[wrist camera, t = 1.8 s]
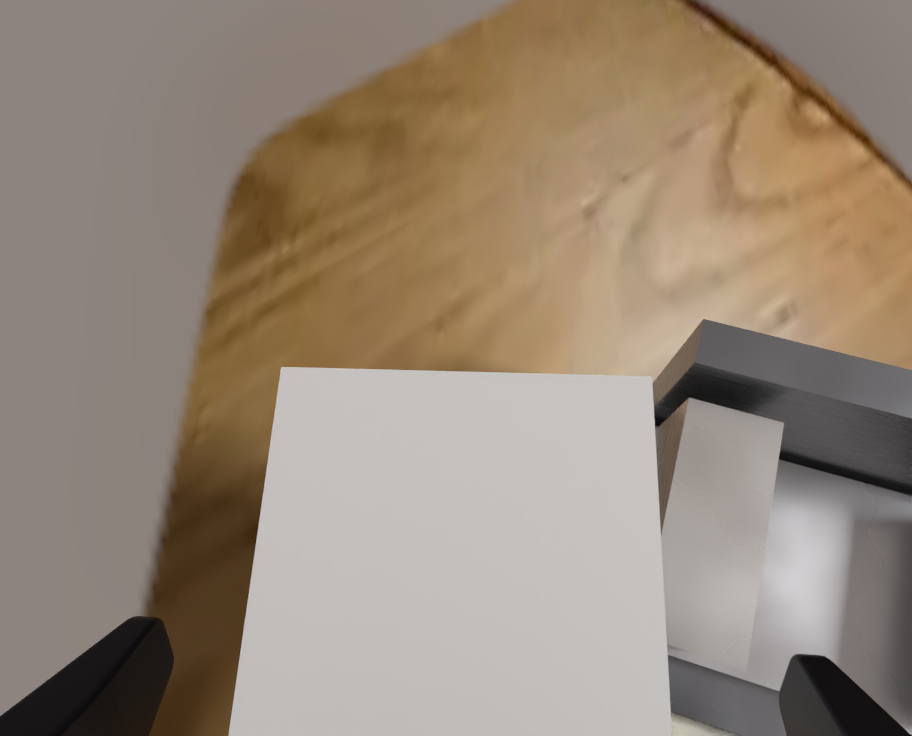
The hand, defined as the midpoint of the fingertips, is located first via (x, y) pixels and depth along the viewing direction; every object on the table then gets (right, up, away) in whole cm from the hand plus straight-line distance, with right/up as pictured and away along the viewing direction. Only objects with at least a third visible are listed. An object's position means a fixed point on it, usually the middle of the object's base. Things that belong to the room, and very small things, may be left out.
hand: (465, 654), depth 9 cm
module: (+1, -2, +8) cm, 9 cm away
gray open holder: (+9, -2, +8) cm, 12 cm away
